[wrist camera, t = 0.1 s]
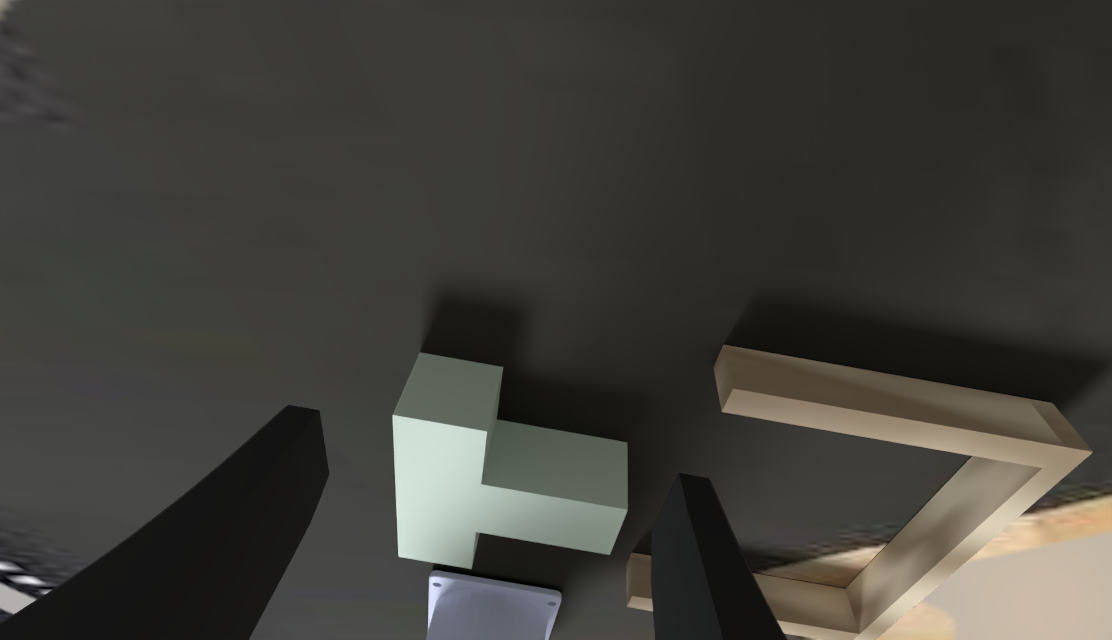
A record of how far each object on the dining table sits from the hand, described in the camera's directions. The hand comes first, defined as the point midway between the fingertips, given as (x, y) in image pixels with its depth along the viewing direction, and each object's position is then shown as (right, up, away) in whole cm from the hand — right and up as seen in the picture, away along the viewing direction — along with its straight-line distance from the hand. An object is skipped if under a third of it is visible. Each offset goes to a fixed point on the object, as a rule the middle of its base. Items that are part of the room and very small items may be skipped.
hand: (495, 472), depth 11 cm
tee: (0, -3, +15) cm, 15 cm away
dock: (+12, -5, +15) cm, 20 cm away
